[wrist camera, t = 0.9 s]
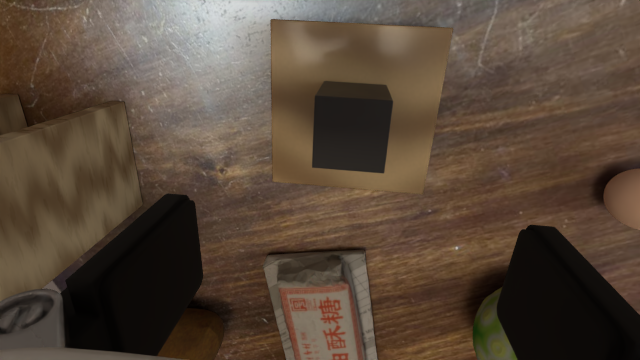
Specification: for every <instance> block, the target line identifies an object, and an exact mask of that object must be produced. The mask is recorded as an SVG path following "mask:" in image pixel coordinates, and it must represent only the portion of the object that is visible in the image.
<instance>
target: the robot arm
mask: <svg viewBox="0 0 640 360" xmlns="http://www.w3.org/2000/svg"><path fill="white" fill-rule="evenodd" d="M202 279H203V270H202V261H201V252H200V243H199V235H198V226H197V217H196V208H195V203H194V201H193V200H190V199H189V197H188V196H187V195H178V194H166V195H164V196H163V197H162V198H161V199H160V200H158V201H157V202H156V203H155V204H154V205H153V206H151V207H150V208H149V209H148V210H147V211H146V212H144V213H143V214H142V215H141V216H140V217H139V218H137V219H136V220H135V221H134V222H133V223H132V224H130V225H129V226H128V227H127V228H126V229H125V230H123V231H122V232H121V233H120V234H119V235H118V236H116V237H115V238H114V239H113V240H112V241H111V242H110V243H108V244H107V245H106V246H105V247H104V248H103V249H101V250H100V251H99V252H98V253H97V254H96V255H94V256H93V257H92V258H91V259H90V260H89V261H87V262H86V263H85V264H84V265H83V266H82V267H80V268H79V269H78V270H77V271H76V272H75V273H73V274H72V275H71V276H70V277H69V278H68V279H66V280H65V281H66V284H67V288H66V289H65V290H64V291H62V292H61V293H58V292H57V291H55V290H51V289H34V290H30V291H25V292H21V293H18V294H16V295H13V296H10V297H8V298H6V299H4V300H2V301H0V360H184V359H176V358H167V357H158V356H157V355H158V353H159V352H160V350H161V349H162V347H163V345H164V344H165V342H166V340H167V339H168V337H169V336H170V334H171V332H172V331H173V329H174V328H175V326H176V324H177V323H178V321H179V320H180V318H181V316H182V315H183V313H184V311H185V310H186V308H187V307H188V305H189V303H190V302H191V300H192V299H193V297H194V295H195V294H196V292H197V290H198V289H199V287H200V285H201V283H202ZM497 316H498V319H499V321H500V323H501V325H502V328H503V330H504V332H505V334H506V336H507V338H508V340H509V343H510V345H511V347H512V349H513V351H514V353H515V355H516V358H517V360H640V315H639V314H638V313H637V312H636V311H635V310H634V309H633V308H632V307H631V306H630V305H629V304H628V303H627V302H626V300H625V299H624V298H623V297H622V296H621V295H620V294H619V293H618V292H617V291H616V290H615V289H614V288H613V287H612V286H611V285H610V284H609V283H608V282H607V281H606V280H605V279H604V278H603V277H602V276H601V275H600V273H599V272H598V271H597V270H596V269H595V268H594V267H593V266H592V265H591V264H590V263H589V262H588V261H587V260H586V259H585V258H584V257H583V256H582V255H581V254H580V253H579V252H578V251H577V250H576V249H575V248H574V246H573V245H572V244H571V243H570V242H569V241H568V240H567V239H566V238H565V237H564V236H563V235H562V234H561V233H560V232H559V231H558V230H557V229H556V228H555V227H550V226H538V225H530V226H528V227H527V228H526V230H525V229H523V230H521V231H520V233H519V235H518V238H517V242H516V245H515V248H514V251H513V255H512V258H511V261H510V264H509V267H508V271H507V274H506V277H505V280H504V284H503V287H502V290H501V293H500V296H499V300H498V303H497Z"/></svg>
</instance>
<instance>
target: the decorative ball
mask: <svg viewBox="0 0 640 360" xmlns="http://www.w3.org/2000/svg"><path fill="white" fill-rule="evenodd" d="M501 290H502V287H501V288H500V289H498V290H496V291H495V292H494V293H492V294H491V295H489V296H487V297H486V298H485V299H484V300H483V302H482V304H481V306H480V308H479V309H478V312H477V314H476V317H475V320H474V326H473V346H474V349H475V352H476V356H477V359H478V360H517V358H516V355H515V353H514V351H513V349H512V347H511V345H510V343H509V340H508V338H507V336H506V334H505V332H504V330H503V328H502V325H501V323H500V321H499V319H498V316H497V303H498V300H499V296H500V293H501Z"/></svg>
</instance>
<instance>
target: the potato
mask: <svg viewBox="0 0 640 360" xmlns="http://www.w3.org/2000/svg"><path fill="white" fill-rule="evenodd" d="M223 336H224V325H223V321H222V319H221V318H220V317H219V316H218V315H217V314H216V313H215V312H212V311H209V310H205V309H197V308H186V310H185V311H184V313H183V315H182V316H181V318H180V320H179V321H178V323H177V324H176V326H175V328H174V329H173V331H172V332H171V334H170V336H169V337H168V339H167V340H166V342H165V344H164V345H163V347H162V349H161V350H160V352H159V353H158V355H157V356H158V357H167V358H176V359H184V360H214V358H215V357H216V355H217V353H218V350H219V348H220V346H221V344H222V340H223Z"/></svg>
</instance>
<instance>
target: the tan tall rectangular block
mask: <svg viewBox="0 0 640 360" xmlns="http://www.w3.org/2000/svg"><path fill="white" fill-rule="evenodd" d="M142 205H143V203H142V197H141V192H140V186H139V181H138V175H137V170H136V164H135V159H134V153H133V148H132V142H131V137H130V131H129V126H128V120H127V115H126V109H125V104H124V102H120V101H110V102H106V103H103V104H100V105H97V106H94V107H90V108H87V109H84V110H81V111H78V112H74V113H71V114H68V115H65V116H62V117H58V118H55V119H52V120H49V121H46V122H42V123H39V124H36V125H33V126H30V127H28V126H27V123H26V120H25V116H24V113H23V110H22V106H21V103H20V100H19V96H18V95H17V94H2V95H0V301H2V300H4V299H6V298H8V297H10V296H13V295H16V294H18V293H21V292H25V291H30V290H34V289H42V288H43V287H44V286H46V285H47V284H48V283H49V282H50V281H52V280H53V279H54V278H55V277H56V276H58V275H59V274H60V273H61V272H62V271H64V270H65V269H66V268H67V267H68V266H70V265H71V264H72V263H73V262H74V261H76V260H77V259H78V258H79V257H80V256H82V255H83V254H84V253H85V252H86V251H88V250H89V249H90V248H91V247H92V246H94V245H95V244H96V243H97V242H98V241H100V240H101V239H102V238H103V237H104V236H106V235H107V234H108V233H109V232H110V231H112V230H113V229H114V228H115V227H116V226H118V225H119V224H120V223H121V222H122V221H124V220H125V219H126V218H127V217H128V216H130V215H131V214H132V213H133V212H135V211H136V210H137V209H138V208H139V207H141V206H142Z"/></svg>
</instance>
